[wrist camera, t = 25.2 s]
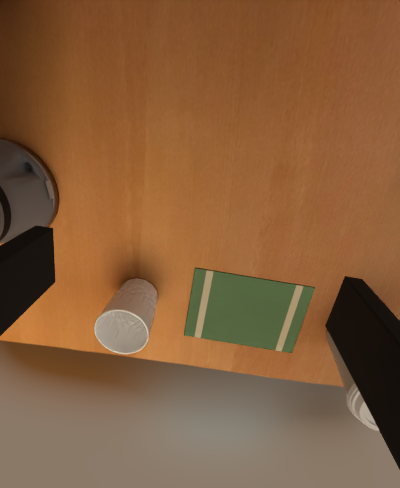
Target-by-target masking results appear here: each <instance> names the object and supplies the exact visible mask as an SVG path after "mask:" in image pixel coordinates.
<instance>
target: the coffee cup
mask: <svg viewBox="0 0 400 488" xmlns="http://www.w3.org/2000/svg"><path fill="white" fill-rule="evenodd" d="M327 339H328V342H329V345H330V348H331V351H332V353H333V356H334V359H335V362H336V364H337V367H338V370H339V373H340V376H341V378H342V381H343V384H344V387H345V390H346V393H347V405H348V408H349V409H350V411H351V412H352V413H353V415H354V416H355V417H357V418H358V419H359V420H360V421H362V422H363V423H364V424H365V425H366V426H367V427H369V428H371V429H374V430H377V431H379V429H378V427H377V425H376V423H375V421H374V419H373V417H372V415H371V413H370V411H369V409H368V407H367V405H366V404H365V402H364V400H363V398H362V396H361V394H360V392H359V390H358V388H357V386H356V384H355V382H354V380H353V378H352V376H351V375H350V373H349V371H348V369H347V367H346V365H345V363H344V361H343V359H342V357H341V355H340V353H339V351H338V349H337V347H336V346H335V344H334V342H333V340H332V338H331V336H330V334H329V332H327Z"/></svg>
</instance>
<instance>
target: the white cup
mask: <svg viewBox="0 0 400 488" xmlns="http://www.w3.org/2000/svg"><path fill="white" fill-rule="evenodd" d="M157 301H158V296H157V291H156V289H155V288H154V286H153V285H152V284H151V283H149V282H148V281H146V280H143V279H138V278H135V279H130V280H127V281H126V282H125V283H124V284H122V286H121V287H120V288H119V290H118V291H117V292H116V293H115V295H114V296H113V297H112V299H111V300H110V301H109V303H108V304H107V306H106V307H105V308H104V310H103V311H102V313H101V314H100V316H99V317H98V318H97V320H96V322H95V326H94V331H95V335H96V337H97V339H98V341H99V342H100V343H101V344H102V345H103V346H104V347H105V348H107V349H109V350H110V351H113V352H115V353H120V354H132V353H135V352H138V351H140V350H141V349H142V348H144V347H145V345H146V344H147V342H148V339H149V335H150V331H151V327H152V323H153V319H154V315H155V310H156V304H157Z"/></svg>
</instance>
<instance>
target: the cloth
mask: <svg viewBox="0 0 400 488" xmlns="http://www.w3.org/2000/svg"><path fill="white" fill-rule="evenodd" d="M314 289H315V288H314V287H309V286H303V285H297V284H291V283H285V282H279V281H273V280H266V279H260V278H254V277H248V276H242V275H236V274H230V273H224V272H218V271H212V270H206V269H200V268H195V272H194V278H193V284H192V290H191V296H190V302H189V308H188V314H187V320H186V326H185V332H184V335H185V336H191V337H197V338H203V339H210V340H216V341H222V342H228V343H234V344H240V345H246V346H252V347H258V348H264V349H270V350H276V351H282V352H288V353H292V351H293V348H294V345H295V342H296V340H297V337H298V334H299V331H300V328H301V326H302V323H303V320H304V317H305V314H306V312H307V309H308V306H309V303H310V300H311V298H312V295H313V292H314Z"/></svg>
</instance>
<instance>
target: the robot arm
mask: <svg viewBox="0 0 400 488" xmlns="http://www.w3.org/2000/svg"><path fill="white" fill-rule="evenodd" d="M58 204H59V197H58V190H57V186H56V183H55V180H54V178H53V176H52V174H51V172H50V170H49V169H48V167H47V166H46V165H45V163H44V162H43V161H42V160H41V159H40V158H39V157H38V156H37V155H36V154H35V153H34V152H32V151H31V150H30V149H28V148H27V147H25V146H23V145H21V144H20V143H17V142H15V141H12V140H8V139H3V138H0V243H4V244H2V245H1V246H0V336H1V335H2V334H3V333H4V332H5V331H6V330H7V329H8V328H9V327H10V326H11V325H12V324H13V323H14V322H15V321H16V320H17V319H18V318H19V317H20V316H21V315H22V314H23V313H24V312H25V311H26V310H27V309H28V308H29V307H30V306H31V305H32V304H33V303H34V302H35V301H36V300H37V299H38V298H39V297H40V296H41V295H42V294H43V293H44V292H45V291H46V290H47V289H48V288H49V287H50V286H51V285H53V284H54V283H55V264H54V242H53V228H49V226H50V225H51V223H52V222H53V220H54V219H55V217H56V214H57V210H58ZM326 328H327V330H328V332H329V334H330V336H331V338H332V340H333V342H334V344H335V346H336V347H337V349H338V351H339V353H340V355H341V357H342V359H343V361H344V363H345V365H346V367H347V369H348V371H349V373H350V375H351V376H352V378H353V380H354V382H355V384H356V386H357V388H358V390H359V392H360V394H361V396H362V398H363V400H364V402H365V404H366V405H367V407H368V409H369V411H370V413H371V415H372V417H373V419H374V421H375V423H376V425H377V427H378V429H379V431H380V433H381V434H382V436H383V438H384V440H385V442H386V444H387V446H388V448H389V450H390V452H391V454H392V456H393V458H394V460H395V461H396V463H397V465H398V467H399V469H400V321H399V320H398V319H397V317H396V316H395V315H394V314H393V313H392V312H391V311H390V310H389V309H388V307H387V306H386V305H385V304H384V303H383V302H382V301H381V300H380V299H379V297H378V296H377V295H376V294H375V293H374V292H373V291H372V290H371V289H370V287H369V286H368V285H367V284H366V283H365V282H364V281H363V280H362V279H358V278H352V277H346V276H345V278H344V280H343V283H342V285H341V288H340V291H339V293H338V296H337V298H336V301H335V303H334V306H333V308H332V311H331V313H330V316H329V318H328V321H327V323H326Z"/></svg>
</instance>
